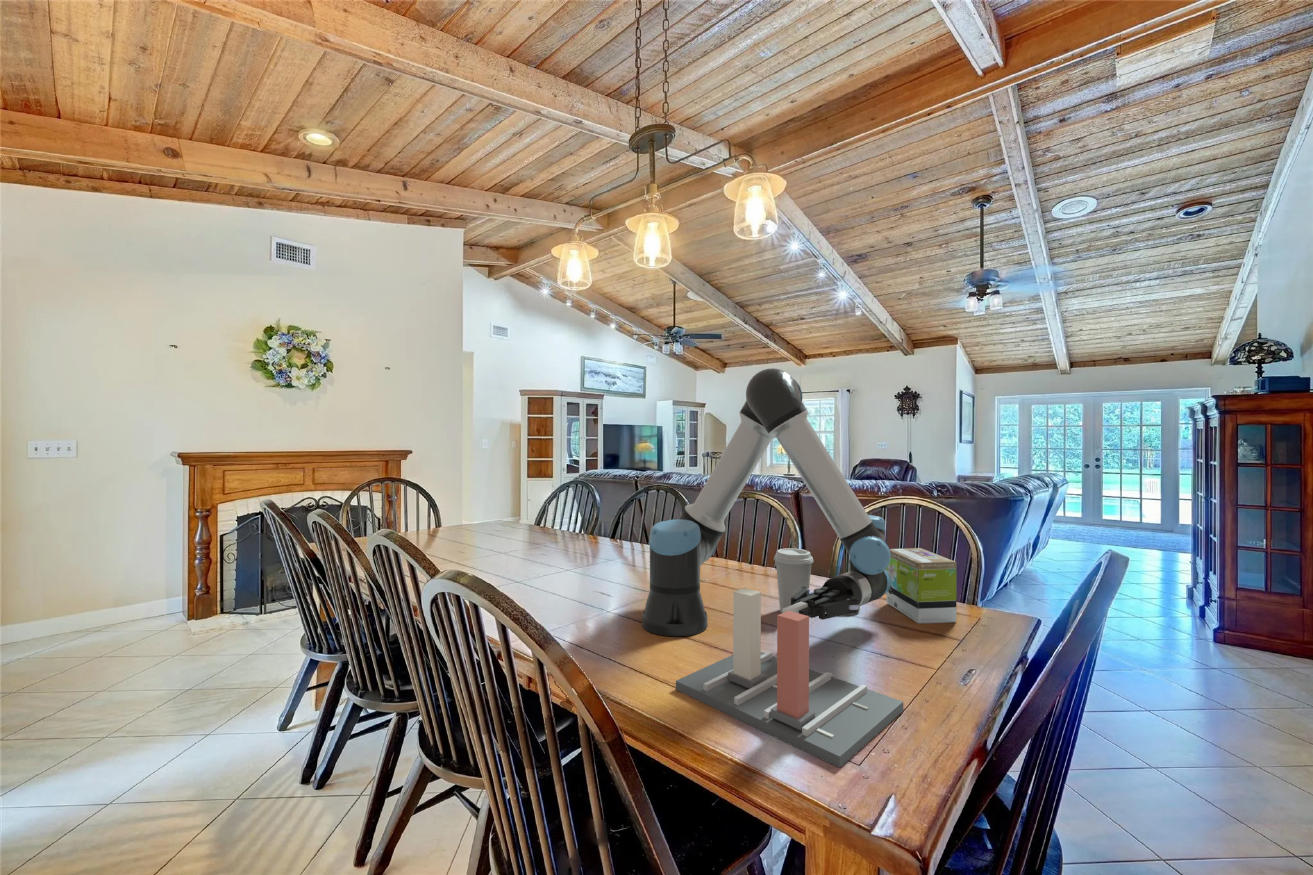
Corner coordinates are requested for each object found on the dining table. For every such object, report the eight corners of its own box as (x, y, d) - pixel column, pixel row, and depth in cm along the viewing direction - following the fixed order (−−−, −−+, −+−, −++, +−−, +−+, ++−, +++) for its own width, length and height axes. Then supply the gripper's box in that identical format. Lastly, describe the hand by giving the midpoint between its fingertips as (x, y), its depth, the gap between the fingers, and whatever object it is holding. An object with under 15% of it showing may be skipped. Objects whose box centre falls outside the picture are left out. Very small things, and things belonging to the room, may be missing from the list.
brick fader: (770, 716, 79) (771, 614, 79) (785, 707, 82) (785, 608, 82) (800, 730, 75) (801, 623, 75) (815, 719, 78) (815, 616, 78)
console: (675, 689, 92) (675, 674, 92) (748, 654, 106) (748, 642, 106) (839, 767, 70) (839, 748, 70) (903, 710, 85) (903, 695, 85)
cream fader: (728, 679, 91) (728, 591, 91) (742, 672, 94) (742, 586, 94) (752, 689, 88) (752, 597, 88) (766, 681, 90) (766, 592, 90)
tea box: (884, 604, 139) (884, 547, 139) (921, 603, 140) (921, 547, 140) (917, 624, 124) (917, 561, 124) (958, 623, 125) (958, 560, 125)
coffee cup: (815, 619, 127) (815, 556, 127) (774, 616, 129) (774, 554, 129) (811, 607, 136) (811, 548, 136) (773, 604, 138) (773, 546, 138)
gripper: (875, 617, 111) (817, 647, 94) (818, 602, 120) (756, 627, 104) (876, 581, 110) (818, 605, 94) (818, 569, 120) (756, 589, 104)
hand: (785, 616), depth 99 cm, fingers closed
